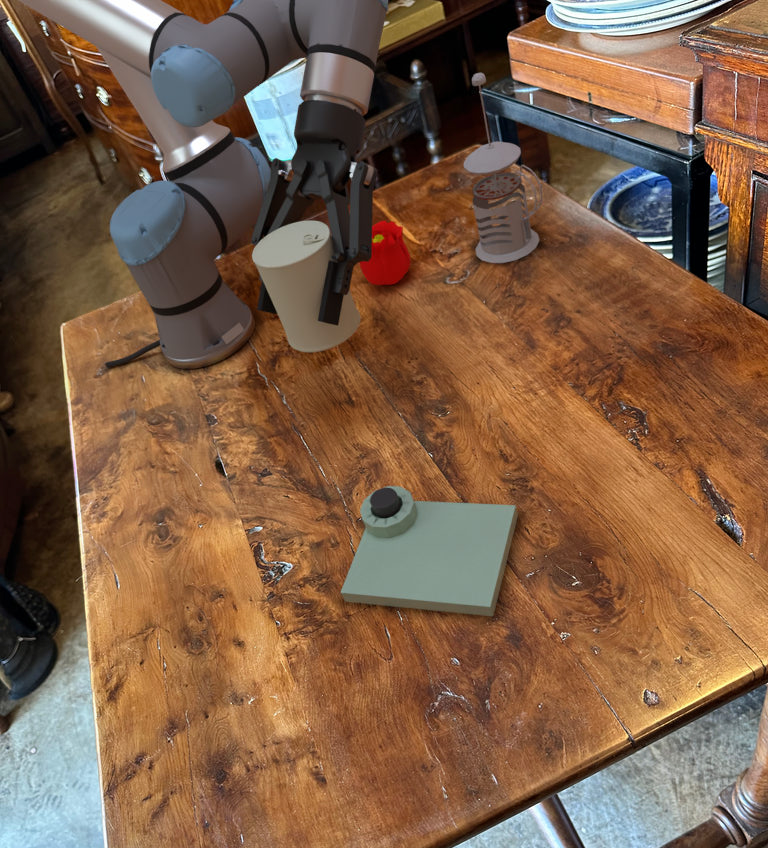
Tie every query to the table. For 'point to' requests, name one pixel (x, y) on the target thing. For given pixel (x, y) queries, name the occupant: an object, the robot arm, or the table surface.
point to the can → (303, 284)
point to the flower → (386, 255)
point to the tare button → (385, 502)
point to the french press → (511, 234)
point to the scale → (432, 556)
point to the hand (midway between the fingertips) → (296, 317)
